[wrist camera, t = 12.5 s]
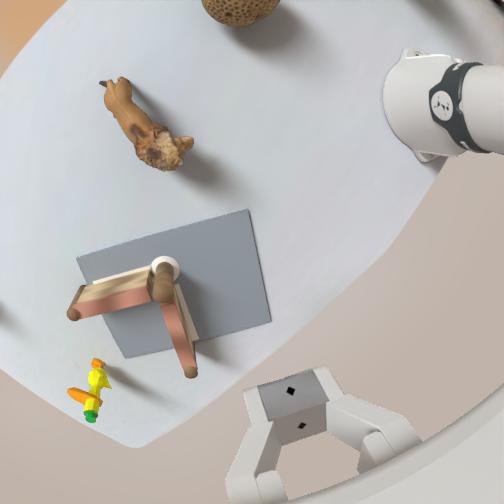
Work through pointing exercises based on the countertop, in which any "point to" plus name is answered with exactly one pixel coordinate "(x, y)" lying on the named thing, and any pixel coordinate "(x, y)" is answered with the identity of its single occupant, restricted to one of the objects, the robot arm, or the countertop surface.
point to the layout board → (187, 282)
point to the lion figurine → (144, 129)
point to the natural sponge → (239, 10)
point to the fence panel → (180, 335)
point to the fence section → (123, 292)
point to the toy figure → (92, 391)
